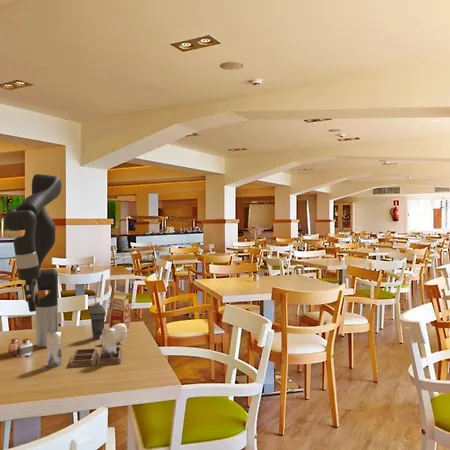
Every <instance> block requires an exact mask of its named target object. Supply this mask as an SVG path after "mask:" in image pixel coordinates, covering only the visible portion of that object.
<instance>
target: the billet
mask: <svg viewBox="0 0 450 450" xmlns="http://www.w3.org/2000/svg"><path fill="white" fill-rule="evenodd" d="M101 344H102V347H101V348H102V351H103V359H104V358H116V347H117V341H116V328H109V327H104V329H102V342H101Z"/></svg>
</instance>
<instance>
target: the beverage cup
mask: <svg viewBox="0 0 450 450" xmlns="http://www.w3.org/2000/svg"><path fill="white" fill-rule="evenodd" d="M94 302H95V304H94V305H92V306H91V308H90V310H89V317H90V323H91V331H92V338H93V340H100V336H101V335H102V329H104V328H105V318H106V310H105V307H104V306H103V304H99V303H97V297H96V294H94Z"/></svg>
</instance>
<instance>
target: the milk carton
mask: <svg viewBox="0 0 450 450" xmlns="http://www.w3.org/2000/svg"><path fill="white" fill-rule="evenodd" d="M114 291H115V293H114V296H113V299H112V304H111V307H110V308H111V309H110V314H109V315H110V316H109V321H108V323H109V324H108V328H112V327H114V326H115V325H116V324H120V323H123V324H125V325H126V327H127V333H129V332H130V331H131V312H130V303H129V295H130V294H131V293H129V292H122V291H119V290H114Z"/></svg>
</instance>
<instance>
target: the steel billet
mask: <svg viewBox="0 0 450 450" xmlns="http://www.w3.org/2000/svg"><path fill="white" fill-rule="evenodd" d="M46 350H47V351H46V355H47V356H46V358H47V359H46V361H47V363H46V364H47V366H46V367H48V368H58V367H60V366H62V365H63V359H62V358H63V355H62V353H63V352H62V351H63V349H62V331H59V330H58V331H54V332H48V333H47V347H46Z"/></svg>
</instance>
